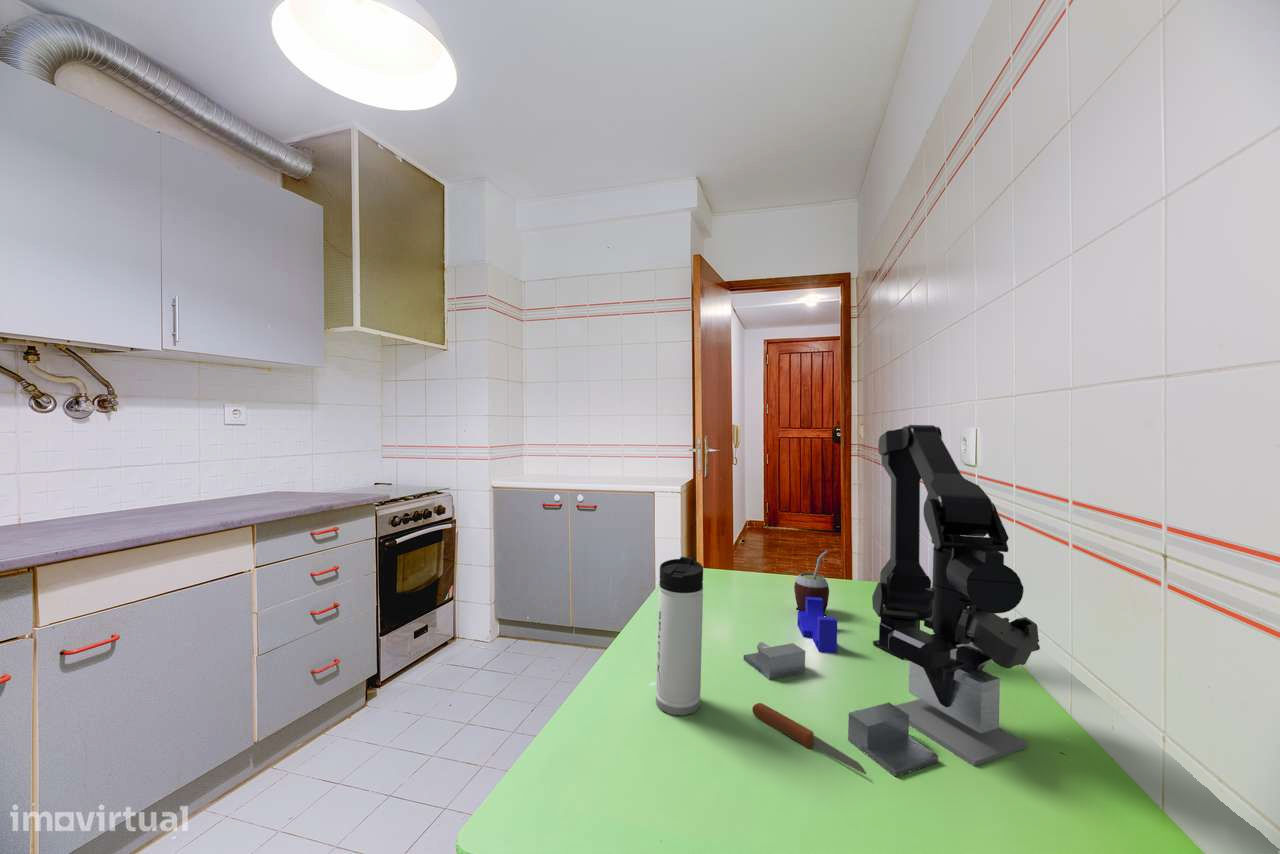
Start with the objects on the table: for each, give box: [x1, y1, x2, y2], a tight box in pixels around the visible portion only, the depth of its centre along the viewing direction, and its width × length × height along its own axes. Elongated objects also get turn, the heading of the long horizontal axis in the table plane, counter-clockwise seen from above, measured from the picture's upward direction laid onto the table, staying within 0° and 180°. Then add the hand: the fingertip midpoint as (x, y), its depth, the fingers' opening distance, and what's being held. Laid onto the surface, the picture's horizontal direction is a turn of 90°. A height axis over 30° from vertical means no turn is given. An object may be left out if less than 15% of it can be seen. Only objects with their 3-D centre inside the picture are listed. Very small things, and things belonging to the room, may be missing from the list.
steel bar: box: [908, 661, 1001, 734], centre depth 66 cm, size 4×10×6 cm, turn 22°
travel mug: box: [655, 556, 704, 716], centre depth 70 cm, size 6×7×20 cm
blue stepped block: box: [797, 597, 838, 655], centre depth 93 cm, size 12×4×6 cm, turn 173°
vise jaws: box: [743, 641, 939, 777], centre depth 71 cm, size 7×30×4 cm, turn 22°
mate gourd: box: [793, 549, 830, 617], centre depth 106 cm, size 8×8×15 cm
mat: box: [894, 698, 1028, 767], centre depth 66 cm, size 10×12×1 cm
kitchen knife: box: [752, 702, 867, 775], centre depth 62 cm, size 16×1×2 cm, turn 38°
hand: (954, 703), depth 66 cm, fingers closed on steel bar, 3 cm apart
